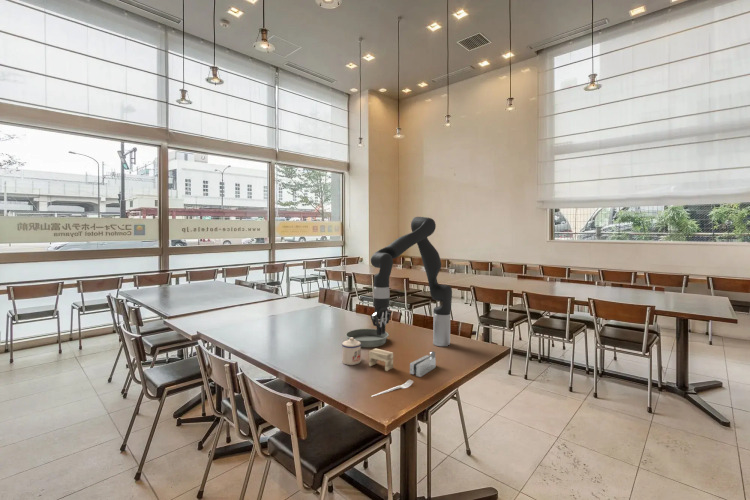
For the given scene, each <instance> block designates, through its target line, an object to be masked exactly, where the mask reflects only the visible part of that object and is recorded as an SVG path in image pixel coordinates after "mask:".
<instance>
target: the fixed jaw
mask: <svg viewBox="0 0 750 500" xmlns="http://www.w3.org/2000/svg"><path fill="white" fill-rule="evenodd" d="M436 359H437V358H436V356H435V357H433V356H431V357H430V358H428V359H426V360H424V361H423V362H421V363H419V364H417V365H416V374H415V376H416V377H418V378H421V377H423V376H425V375H426V374H428V373H429V372H431V371H432V370H434V369H435V368H436Z"/></svg>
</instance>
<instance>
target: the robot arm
mask: <svg viewBox="0 0 750 500" xmlns="http://www.w3.org/2000/svg"><path fill="white" fill-rule="evenodd" d="M436 227H437V225H436V222H435V220H434V219H433V218H431V217H424V216H414V217H413V218H412V220H411V221H410V229H411V232H409V233H407V234H404V235H401V236H399V237H397V238H396V239H395V240H393V241H392V242H391V243H389V245H387V246H384V247H383V248H380V249H379V250H377V251H375V252H374V253H373V254H372V255H371V258H370V264H371V265H372V267H374V268H378V269H379V270H378V273H375V274H374V276H373V291H372V292H373V293H372V305H373V306H372V307H373V308H374V313H373V314H370V319H371V322H372V325H373V326H375V327H376V329H377V335H382V334H385V331H386V326H387V324H389V322H390V318H391V315H392V311H391V310H389V307H390V306H391V305H390V298H391V297H390V296H391V295H390V294H391V292H390V276H391V273H392V269H393V265H394V259H396V258H399V257H400V256H401V255H402V254H403V253H405V252H406V251H407V250H408V249H410V248H411V247H413V246H414V245H416V244H417V247H418V251H419V253H420V257H421V261H422V265H423V267H424V271H425V274H426V278H427V282H428V288H429V292H430V295H431V296H430V297H431V298H432V300H434V301H437V302H438V301H439V302H441V303H442V305H439V306H435V307H434V308H433V324H432V327H433V328H432V329H433V331H432V344H433V346H434V345H435V346H436V347H437V346H438V347H449V346H451V311H452V299H453V289H452V286H451V285H449V284H441V283H439V281H438V275H439V273H440V271H441V269H442V260H441V257H440V254H439V252H438V250H437V249H436V248H435V246H434V245H433V244H432V243H431V241H430V240H429V238H428V237H430V236H432V235H433V234H434V232H435V230H436ZM448 345H449V346H448Z"/></svg>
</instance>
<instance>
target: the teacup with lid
mask: <svg viewBox="0 0 750 500" xmlns="http://www.w3.org/2000/svg"><path fill="white" fill-rule="evenodd" d="M341 345H342V346H341V347H342V356H341V357H342V363H343V365H347V366H353V365H354V366H355V365H358V364H360V363H361V361H362V360H361V359H362V358H361V357H362V356H361V354H362V352H361V349H362V347H361V343H360V342H359V341H356V340H355V339H354V338H353V337H350V338H349V340H348V339H346V340H344V341H343V342H342V343H341Z"/></svg>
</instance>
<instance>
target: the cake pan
mask: <svg viewBox="0 0 750 500" xmlns="http://www.w3.org/2000/svg"><path fill="white" fill-rule="evenodd" d="M389 334H390V333H388V332H387V331H386V330H385V334H382V335H377V328H357V329H353V330H349V331H347V332H346V333H345V335H344V336H345V337H346V338H347V339H346V340H349V338H350V337H353V338H354V339H355V340H356V341H359V342H360V343H361V348H376V347H380V346H383V345H385V344H386V343H387V338H388V337H389Z"/></svg>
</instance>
